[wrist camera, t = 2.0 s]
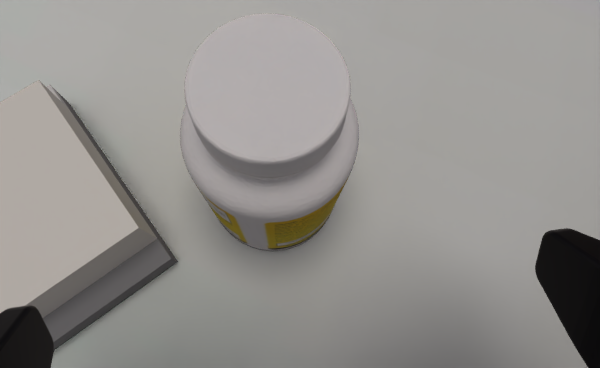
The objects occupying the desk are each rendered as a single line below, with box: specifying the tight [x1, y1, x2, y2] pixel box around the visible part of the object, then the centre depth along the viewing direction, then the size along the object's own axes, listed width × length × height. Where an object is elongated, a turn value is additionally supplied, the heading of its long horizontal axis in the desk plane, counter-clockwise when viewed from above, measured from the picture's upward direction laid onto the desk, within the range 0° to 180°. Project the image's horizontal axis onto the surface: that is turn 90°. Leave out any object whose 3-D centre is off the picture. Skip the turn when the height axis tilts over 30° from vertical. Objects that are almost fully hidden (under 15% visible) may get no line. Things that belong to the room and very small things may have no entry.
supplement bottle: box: [180, 13, 359, 250], centre depth 15 cm, size 5×5×10 cm
